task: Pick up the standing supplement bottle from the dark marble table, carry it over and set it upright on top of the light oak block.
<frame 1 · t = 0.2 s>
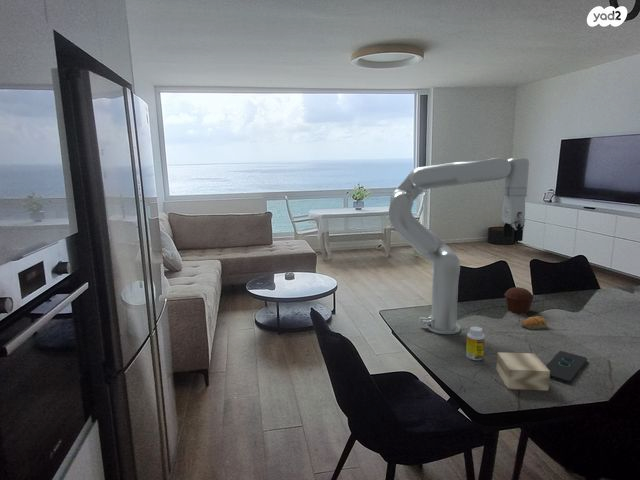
hand: (512, 238, 151), 36 cm above the table, tool pointing down, fingers open, 9 cm apart
muffin: (517, 310, 179), on the table
oak block: (521, 379, 122), on the table
pastry: (534, 327, 162), on the table
smart home device: (564, 369, 129), on the table
supplement bottle: (474, 357, 137), on the table
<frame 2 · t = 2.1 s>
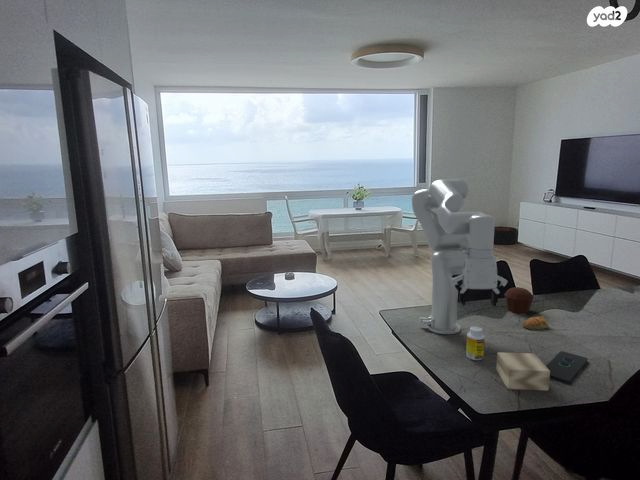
hand: (478, 304, 133), 19 cm above the table, tool pointing down, fingers open, 9 cm apart
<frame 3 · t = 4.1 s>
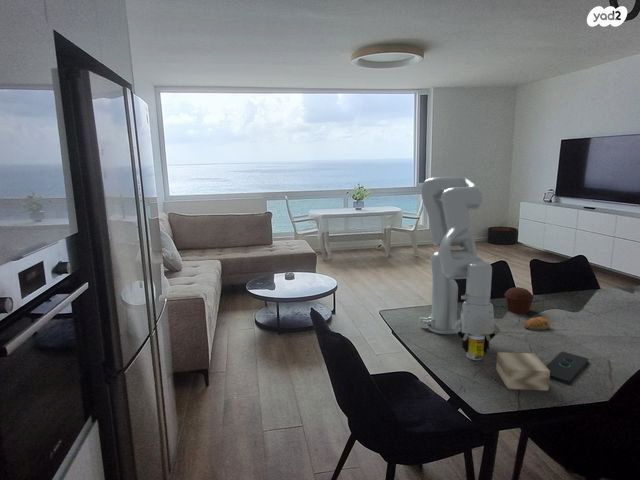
hand: (475, 350, 137), 3 cm above the table, tool pointing down, fingers closed on supplement bottle, 5 cm apart
supplement bottle: (474, 357, 137), on the table, touching gripper
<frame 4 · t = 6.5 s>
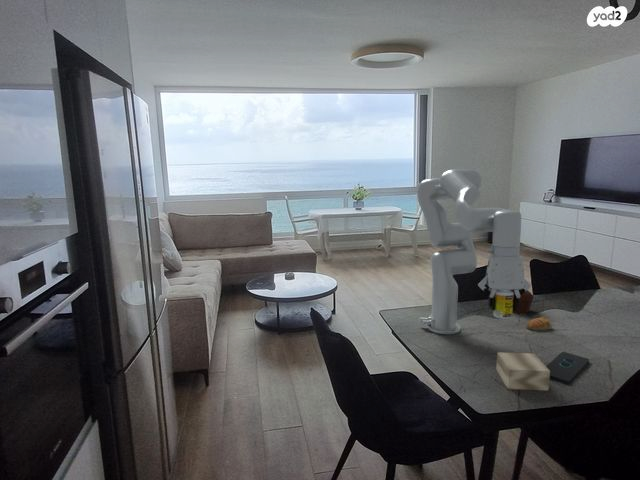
hand: (502, 308, 125), 20 cm above the table, tool pointing down, fingers closed on supplement bottle, 5 cm apart
supplement bottle: (502, 317, 125), point 17 cm above the table, touching gripper
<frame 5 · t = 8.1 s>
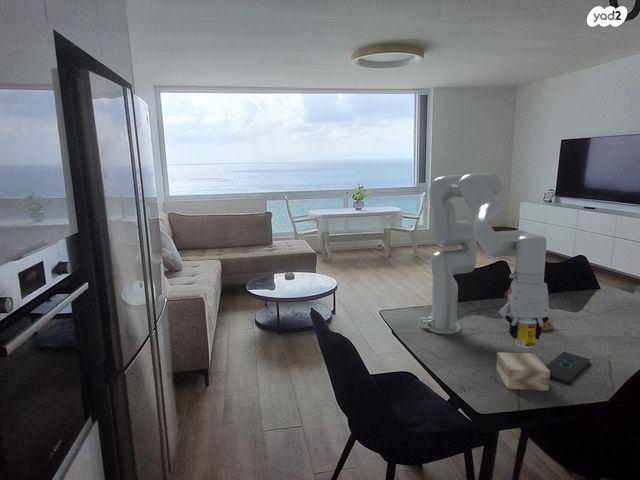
hand: (524, 336, 120), 14 cm above the table, tool pointing down, fingers closed on supplement bottle, 5 cm apart
supplement bottle: (524, 345, 120), point 11 cm above the table, touching gripper
when the fingers open (10 cm above the table, at t = 9.2 s): supplement bottle drops 1 cm, resting on oak block.
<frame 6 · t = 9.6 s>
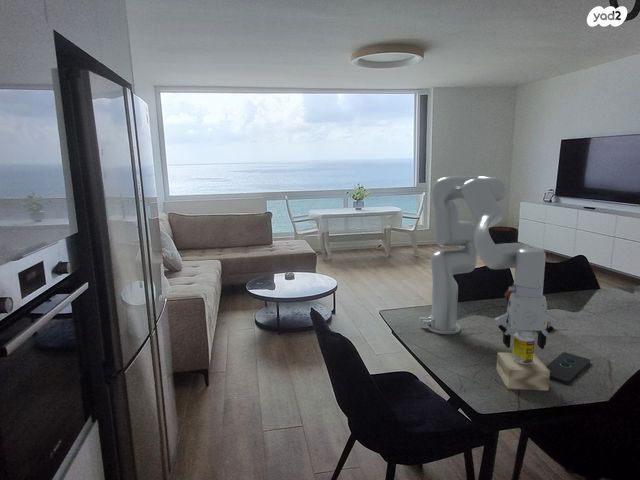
hand: (523, 346, 120), 11 cm above the table, tool pointing down, fingers open, 9 cm apart
supplement bottle: (522, 361, 121), point 6 cm above the table, touching oak block
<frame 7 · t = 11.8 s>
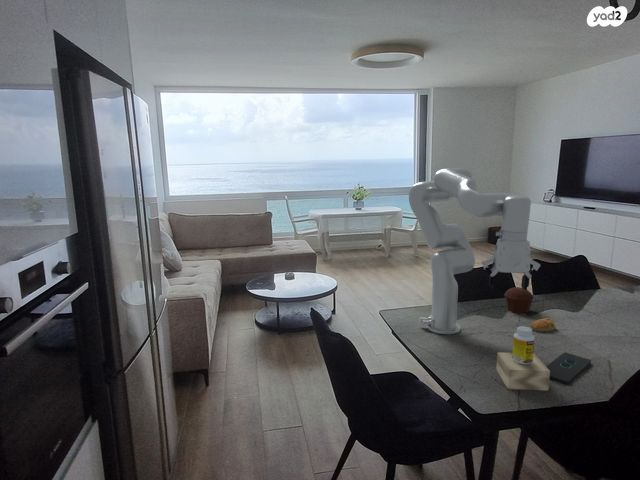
hand: (508, 288, 130), 25 cm above the table, tool pointing down, fingers open, 9 cm apart
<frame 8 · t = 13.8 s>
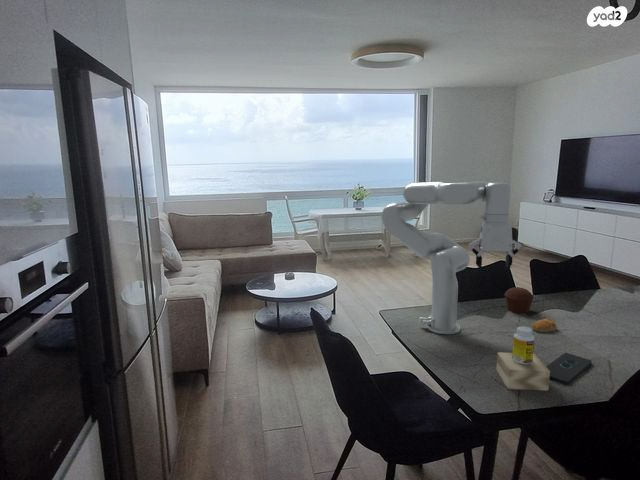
hand: (493, 267, 143), 28 cm above the table, tool pointing down, fingers open, 9 cm apart
at the end: supplement bottle inside the target area on the oak block (0.1 cm from its centre), point 5.8 cm above the oak block's base; supplement bottle tilted 0°; the gripper is holding nothing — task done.
